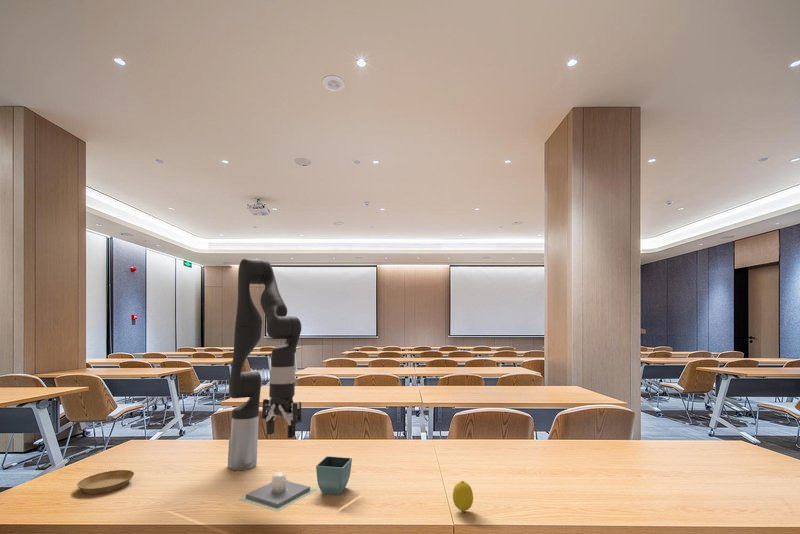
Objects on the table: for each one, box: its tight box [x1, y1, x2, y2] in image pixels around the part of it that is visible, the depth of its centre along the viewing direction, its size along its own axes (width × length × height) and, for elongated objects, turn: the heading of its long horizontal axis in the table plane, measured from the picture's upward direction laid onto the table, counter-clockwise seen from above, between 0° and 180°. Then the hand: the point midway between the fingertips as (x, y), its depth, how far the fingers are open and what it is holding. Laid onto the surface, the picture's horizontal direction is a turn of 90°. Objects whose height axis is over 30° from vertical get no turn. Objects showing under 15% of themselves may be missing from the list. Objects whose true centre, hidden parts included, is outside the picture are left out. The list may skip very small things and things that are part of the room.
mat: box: [238, 487, 318, 512], centre depth 119 cm, size 16×16×1 cm
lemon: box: [452, 480, 474, 513], centre depth 109 cm, size 6×6×8 cm
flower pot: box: [315, 455, 353, 496], centre depth 122 cm, size 9×9×9 cm
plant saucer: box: [76, 469, 135, 495], centre depth 127 cm, size 15×15×3 cm
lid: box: [245, 471, 311, 508], centre depth 119 cm, size 13×13×5 cm
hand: (280, 435), depth 121 cm, fingers open, 8 cm apart
